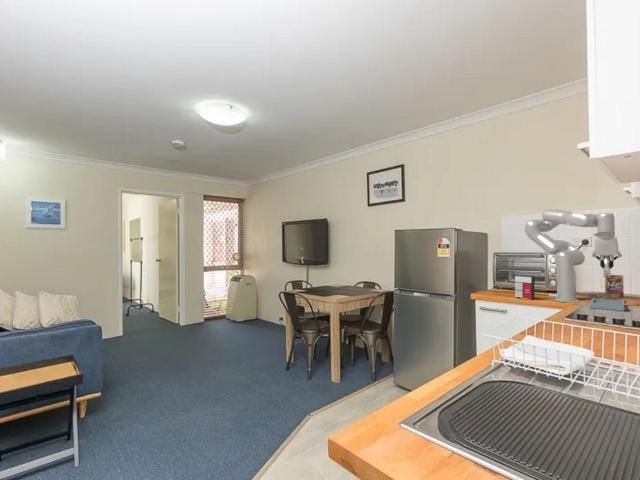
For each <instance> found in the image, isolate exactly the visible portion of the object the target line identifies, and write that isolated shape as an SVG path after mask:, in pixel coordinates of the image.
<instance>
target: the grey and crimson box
mask: <svg viewBox="0 0 640 480" xmlns="http://www.w3.org/2000/svg"><path fill="white" fill-rule="evenodd" d="M513 277H514V298H515V297H521V298H528V299H534V300H535V282H536V280H535V279H536V277H535V276H534V275H522V274H521V275H519V274H518V275H514V276H513ZM528 299H527V300H528Z"/></svg>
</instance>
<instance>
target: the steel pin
mask: <svg viewBox="0 0 640 480" xmlns="http://www.w3.org/2000/svg"><path fill="white" fill-rule="evenodd" d="M602 260H603V263H604V268H602V269H603V278H605V277H611V275H612V274H611V272H612V271H611V268H610V261H611V256H603V259H602Z"/></svg>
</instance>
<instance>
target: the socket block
mask: <svg viewBox="0 0 640 480" xmlns="http://www.w3.org/2000/svg"><path fill="white" fill-rule="evenodd" d="M597 299H608V300H621V298H620V295H619V294H605V292H604V293H603V292H602V293H601V292H599V293H597Z"/></svg>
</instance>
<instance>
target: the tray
mask: <svg viewBox="0 0 640 480" xmlns="http://www.w3.org/2000/svg"><path fill="white" fill-rule="evenodd" d="M589 309H591V310H592V309H593V310H600V311H601V310H602V311H610V312H611V311H613V312H621V313H623V312H624V311H625V300H621V299H620V300H608V299H598V298H591V300H590V302H589Z"/></svg>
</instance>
